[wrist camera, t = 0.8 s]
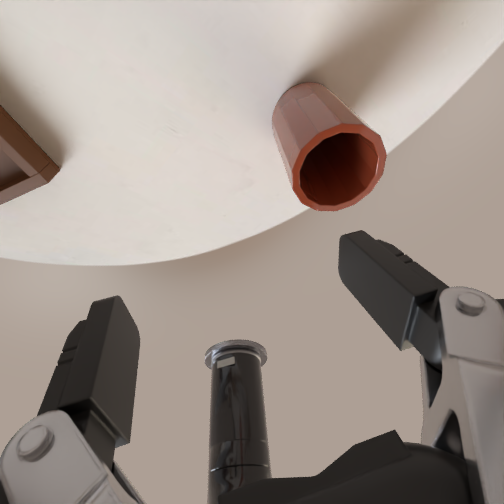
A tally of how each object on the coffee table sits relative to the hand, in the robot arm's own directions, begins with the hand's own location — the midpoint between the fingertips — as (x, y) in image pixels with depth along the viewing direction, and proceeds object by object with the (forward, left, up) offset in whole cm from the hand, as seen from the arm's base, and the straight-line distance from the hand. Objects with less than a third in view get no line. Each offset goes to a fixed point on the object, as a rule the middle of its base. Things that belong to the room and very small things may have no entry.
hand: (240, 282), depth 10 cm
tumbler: (-3, -6, -19) cm, 20 cm away
